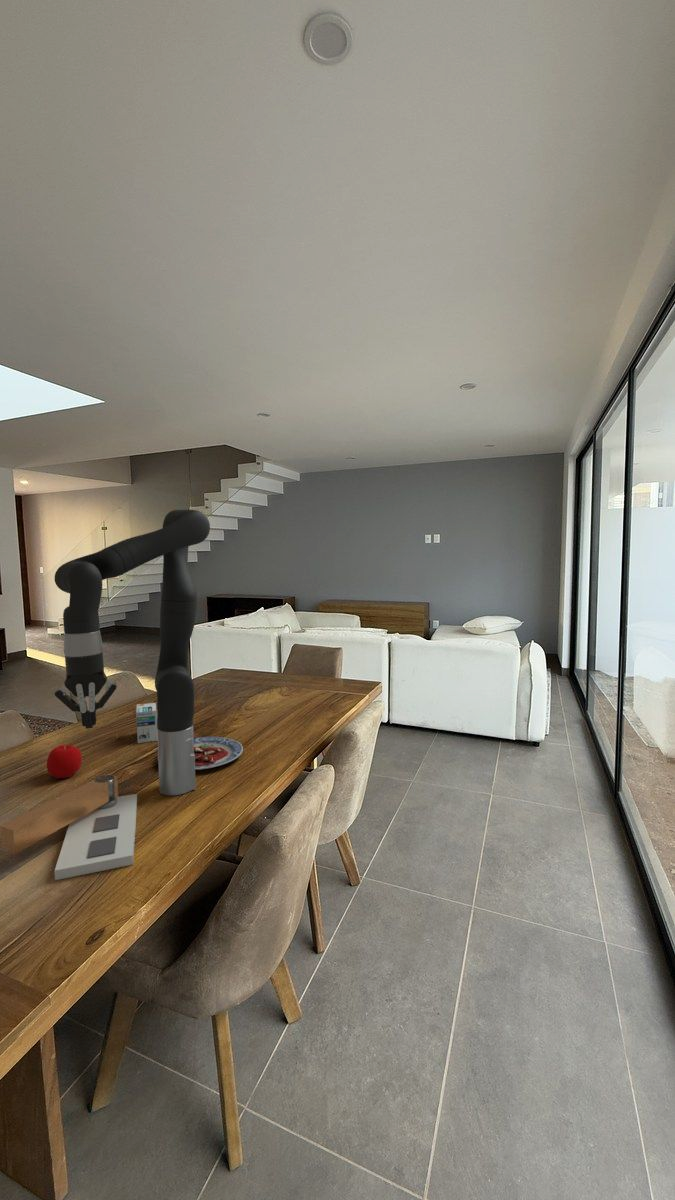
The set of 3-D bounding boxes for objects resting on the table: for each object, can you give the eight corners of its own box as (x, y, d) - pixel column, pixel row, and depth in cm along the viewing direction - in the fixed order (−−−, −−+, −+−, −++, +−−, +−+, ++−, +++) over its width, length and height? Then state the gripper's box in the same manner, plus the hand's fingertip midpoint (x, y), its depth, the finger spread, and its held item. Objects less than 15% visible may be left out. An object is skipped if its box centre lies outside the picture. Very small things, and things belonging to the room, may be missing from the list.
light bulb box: (158, 741, 168) (157, 710, 167) (137, 744, 165) (135, 712, 165) (157, 731, 178) (156, 702, 177) (137, 733, 175) (136, 704, 174)
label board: (137, 801, 126) (136, 790, 126) (133, 864, 100) (132, 850, 100) (76, 811, 121) (75, 799, 121) (55, 880, 95) (54, 865, 95)
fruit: (88, 774, 142) (86, 741, 141) (53, 785, 135) (51, 750, 134) (75, 765, 148) (73, 733, 147) (42, 775, 141) (40, 742, 140)
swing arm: (119, 795, 122) (118, 776, 121) (15, 854, 98) (13, 830, 97) (106, 792, 123) (105, 773, 123) (0, 849, 99) (-1, 826, 99)
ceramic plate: (221, 780, 139) (221, 769, 138) (140, 772, 144) (139, 762, 144) (255, 746, 164) (255, 737, 164) (184, 740, 169) (184, 732, 169)
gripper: (117, 646, 115) (122, 718, 117) (52, 651, 110) (58, 726, 112) (115, 651, 108) (121, 728, 110) (46, 658, 103) (53, 737, 105)
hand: (89, 727), depth 111 cm, fingers closed
